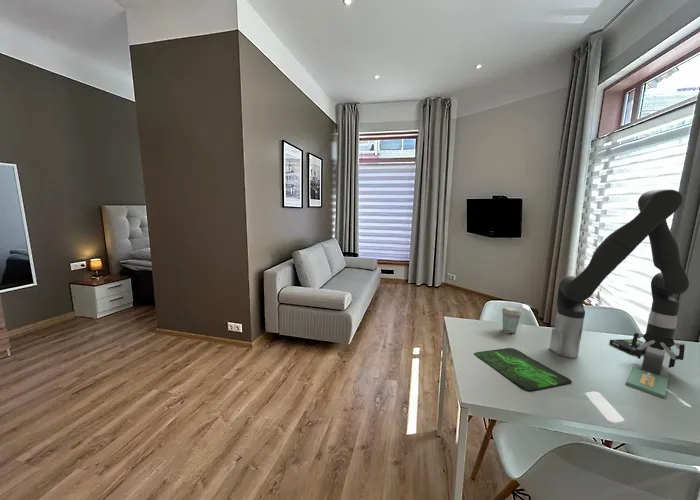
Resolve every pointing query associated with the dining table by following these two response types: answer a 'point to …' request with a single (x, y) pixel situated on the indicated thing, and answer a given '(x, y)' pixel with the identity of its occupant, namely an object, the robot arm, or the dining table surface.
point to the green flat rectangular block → (647, 382)
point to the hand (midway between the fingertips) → (654, 362)
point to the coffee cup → (510, 318)
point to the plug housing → (653, 360)
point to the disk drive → (627, 346)
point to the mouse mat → (522, 369)
